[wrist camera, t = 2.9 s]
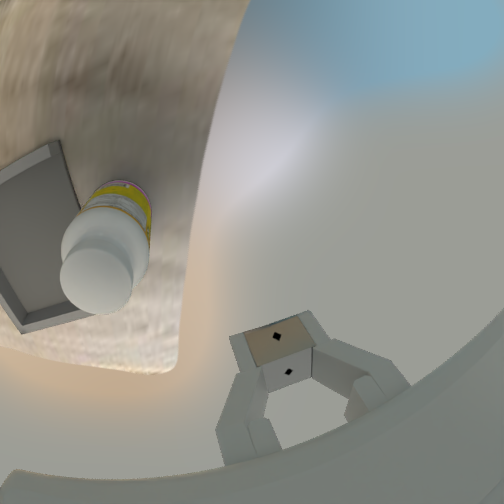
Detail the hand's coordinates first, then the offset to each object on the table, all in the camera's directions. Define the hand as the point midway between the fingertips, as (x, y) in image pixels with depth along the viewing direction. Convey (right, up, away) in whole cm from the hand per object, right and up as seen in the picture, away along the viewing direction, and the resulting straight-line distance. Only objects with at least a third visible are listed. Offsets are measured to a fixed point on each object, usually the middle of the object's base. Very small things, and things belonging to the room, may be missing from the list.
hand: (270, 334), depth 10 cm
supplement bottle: (-14, +7, +15) cm, 22 cm away
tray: (-24, +4, +13) cm, 28 cm away
